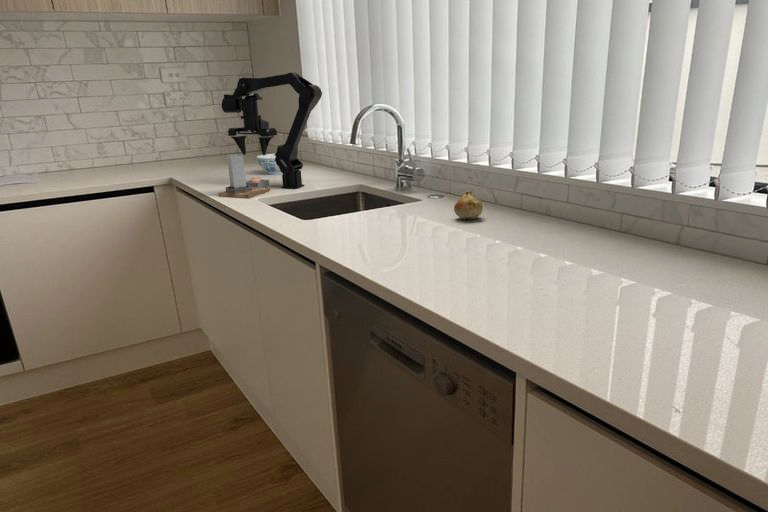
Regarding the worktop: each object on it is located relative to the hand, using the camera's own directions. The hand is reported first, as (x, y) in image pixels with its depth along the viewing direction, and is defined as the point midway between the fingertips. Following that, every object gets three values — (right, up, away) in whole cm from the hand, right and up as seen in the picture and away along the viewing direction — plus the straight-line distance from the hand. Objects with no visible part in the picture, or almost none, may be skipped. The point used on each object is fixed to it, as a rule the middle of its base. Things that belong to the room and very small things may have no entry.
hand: (254, 155), depth 218 cm
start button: (0, -11, +1) cm, 11 cm away
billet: (-3, -15, -11) cm, 19 cm away
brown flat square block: (-1, -16, -10) cm, 19 cm away
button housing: (+1, -12, +2) cm, 12 cm away
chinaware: (+2, -2, +34) cm, 34 cm away
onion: (+73, -28, -58) cm, 97 cm away
